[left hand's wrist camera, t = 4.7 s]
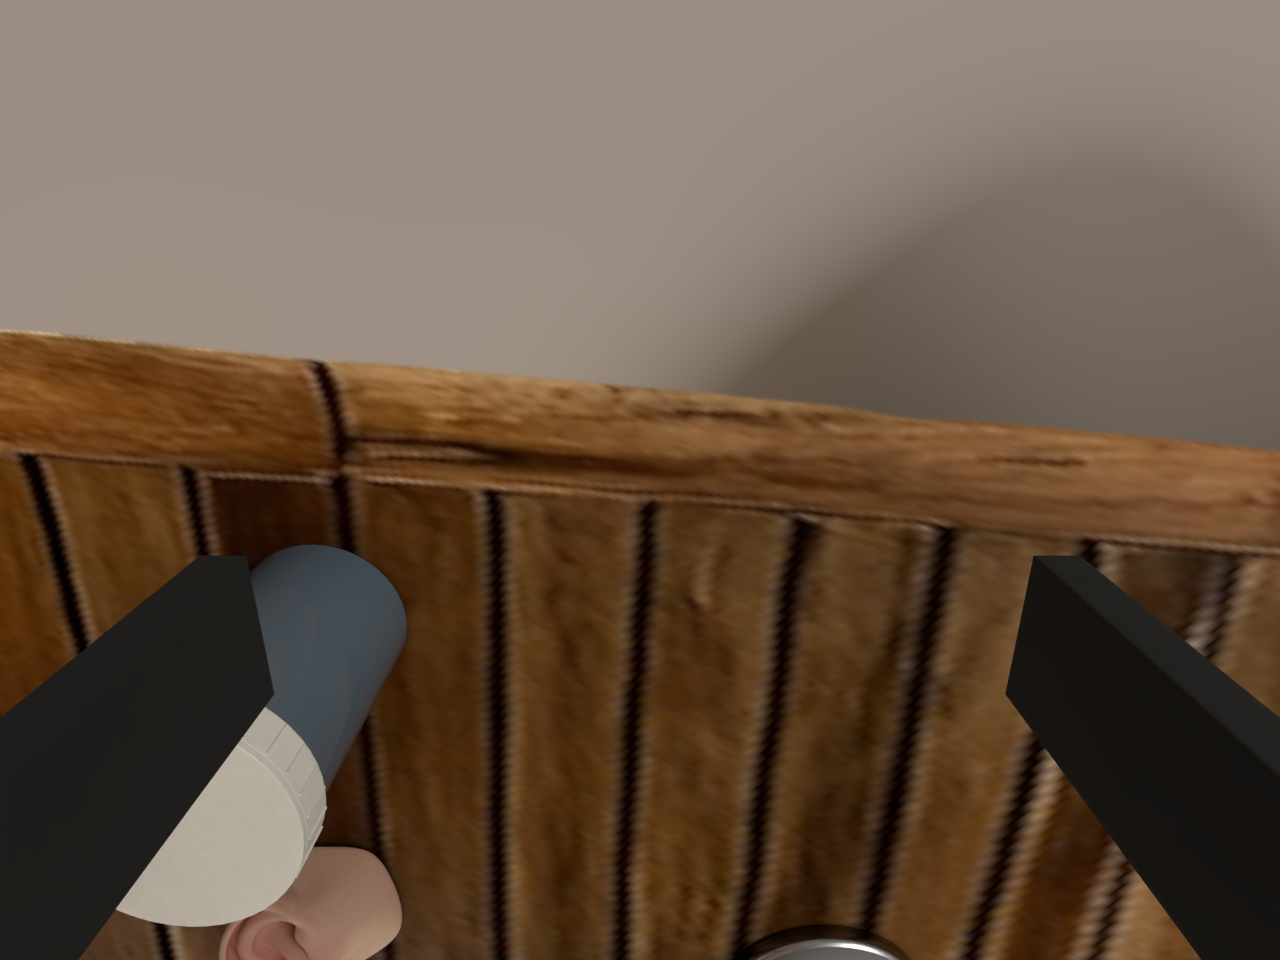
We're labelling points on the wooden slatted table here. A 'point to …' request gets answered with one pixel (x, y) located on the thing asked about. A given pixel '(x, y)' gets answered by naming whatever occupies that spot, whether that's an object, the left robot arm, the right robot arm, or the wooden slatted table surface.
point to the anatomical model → (322, 913)
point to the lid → (238, 835)
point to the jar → (327, 643)
